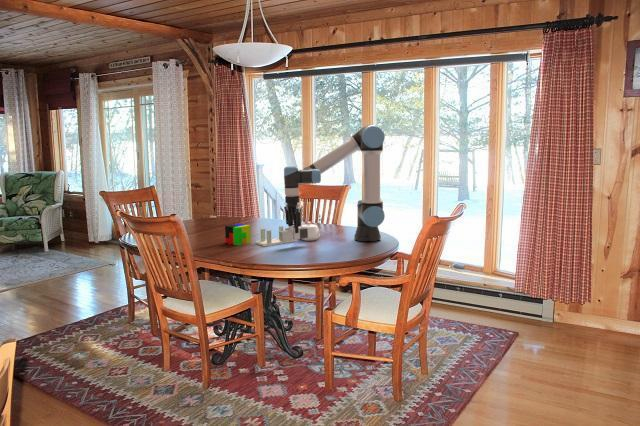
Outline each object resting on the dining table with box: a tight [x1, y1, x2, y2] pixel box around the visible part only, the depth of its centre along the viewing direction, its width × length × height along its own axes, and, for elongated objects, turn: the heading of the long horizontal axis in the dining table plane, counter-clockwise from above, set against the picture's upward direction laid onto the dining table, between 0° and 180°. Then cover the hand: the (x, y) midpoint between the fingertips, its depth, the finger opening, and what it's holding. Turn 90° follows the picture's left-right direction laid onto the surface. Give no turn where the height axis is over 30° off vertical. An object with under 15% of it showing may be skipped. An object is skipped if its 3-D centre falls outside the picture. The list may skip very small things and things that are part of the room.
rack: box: [254, 225, 296, 248], centre depth 293 cm, size 10×20×8 cm, turn 126°
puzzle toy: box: [224, 223, 252, 247], centre depth 293 cm, size 10×10×10 cm
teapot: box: [298, 221, 323, 241], centre depth 302 cm, size 20×12×10 cm, turn 45°
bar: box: [278, 227, 308, 242], centre depth 282 cm, size 4×16×5 cm, turn 125°
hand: (294, 238), depth 282 cm, fingers closed on bar, 3 cm apart
